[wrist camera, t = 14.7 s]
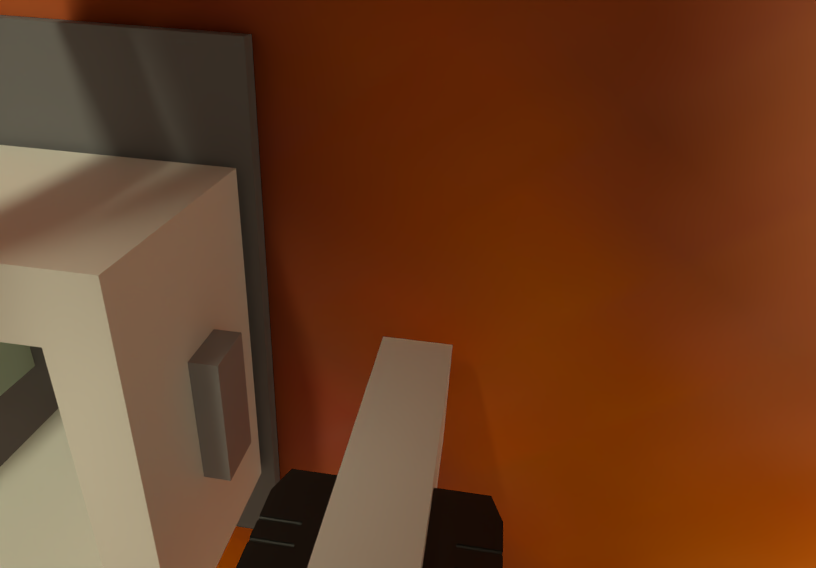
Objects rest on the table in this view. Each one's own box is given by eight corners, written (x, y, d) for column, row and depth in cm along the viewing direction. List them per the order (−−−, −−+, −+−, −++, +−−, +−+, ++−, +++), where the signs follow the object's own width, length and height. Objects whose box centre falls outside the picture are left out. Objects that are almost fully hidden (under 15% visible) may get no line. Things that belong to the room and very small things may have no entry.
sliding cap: (-13, 143, 14) (-260, 232, 9) (263, 170, 13) (138, 280, 9) (71, 444, 18) (-73, 603, 13) (282, 476, 17) (204, 654, 13)
